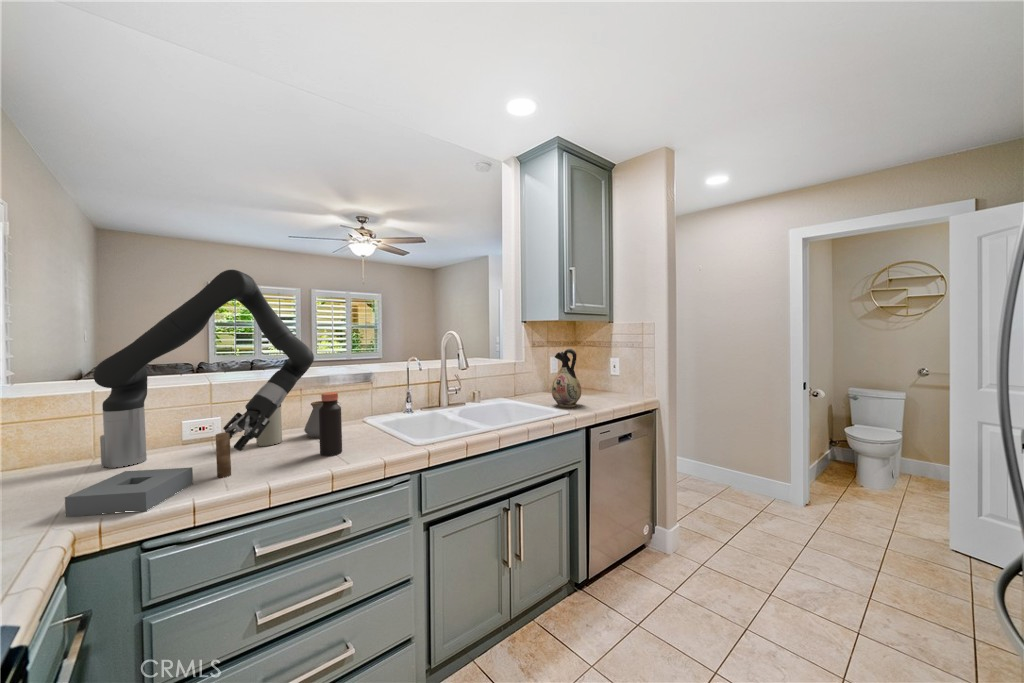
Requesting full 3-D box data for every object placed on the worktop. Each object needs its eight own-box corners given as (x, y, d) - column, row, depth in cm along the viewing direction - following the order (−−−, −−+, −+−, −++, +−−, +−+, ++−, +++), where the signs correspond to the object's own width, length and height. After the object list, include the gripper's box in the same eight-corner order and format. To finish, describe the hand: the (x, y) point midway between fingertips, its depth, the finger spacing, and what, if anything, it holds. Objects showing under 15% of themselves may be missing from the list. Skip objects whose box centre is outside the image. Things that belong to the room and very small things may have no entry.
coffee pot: (299, 435, 152) (298, 397, 152) (329, 429, 161) (328, 393, 160) (322, 446, 138) (321, 404, 138) (354, 439, 147) (353, 399, 146)
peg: (214, 478, 109) (213, 435, 108) (221, 474, 112) (219, 432, 112) (227, 477, 109) (225, 435, 109) (233, 473, 113) (232, 432, 112)
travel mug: (267, 447, 137) (265, 396, 136) (251, 445, 140) (249, 395, 139) (287, 441, 144) (285, 393, 144) (271, 439, 147) (270, 392, 147)
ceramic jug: (545, 406, 203) (545, 349, 202) (561, 402, 215) (561, 347, 214) (574, 410, 192) (573, 350, 191) (589, 405, 204) (589, 348, 203)
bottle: (315, 455, 128) (313, 394, 127) (331, 449, 134) (330, 391, 134) (330, 457, 126) (329, 395, 125) (346, 451, 132) (345, 392, 131)
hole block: (65, 517, 87) (64, 497, 87) (125, 488, 103) (124, 471, 103) (146, 511, 89) (145, 492, 89) (193, 483, 105) (192, 467, 105)
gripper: (244, 392, 122) (203, 437, 112) (272, 395, 116) (231, 443, 106) (262, 405, 127) (224, 450, 117) (290, 409, 121) (252, 457, 111)
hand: (227, 447), depth 112 cm, fingers open, 8 cm apart
